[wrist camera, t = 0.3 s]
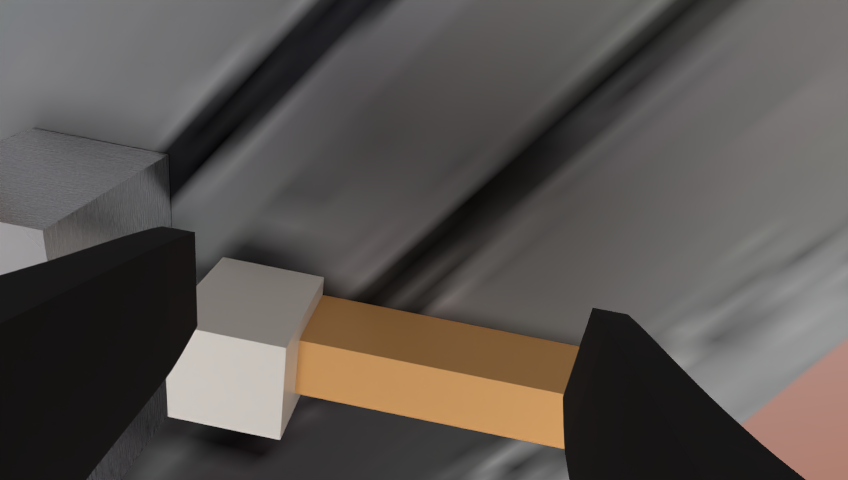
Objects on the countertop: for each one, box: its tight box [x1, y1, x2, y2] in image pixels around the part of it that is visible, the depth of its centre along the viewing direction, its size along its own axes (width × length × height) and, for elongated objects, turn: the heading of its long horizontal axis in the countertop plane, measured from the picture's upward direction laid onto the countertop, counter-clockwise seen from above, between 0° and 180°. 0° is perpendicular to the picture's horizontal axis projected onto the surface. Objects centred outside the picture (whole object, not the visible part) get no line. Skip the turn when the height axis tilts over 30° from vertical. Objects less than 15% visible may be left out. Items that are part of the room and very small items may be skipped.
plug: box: [166, 257, 579, 449], centre depth 21 cm, size 4×17×4 cm, turn 81°
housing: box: [0, 128, 171, 480], centre depth 21 cm, size 12×5×6 cm, turn 171°
